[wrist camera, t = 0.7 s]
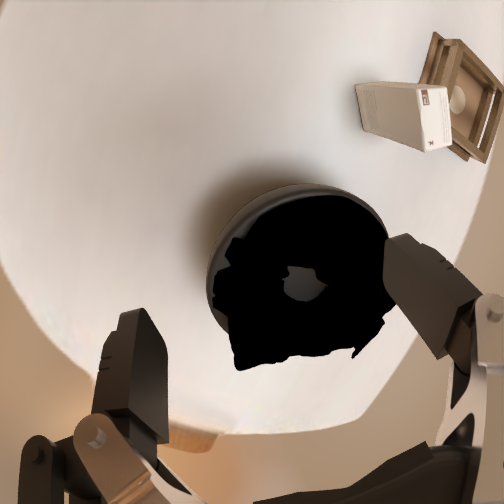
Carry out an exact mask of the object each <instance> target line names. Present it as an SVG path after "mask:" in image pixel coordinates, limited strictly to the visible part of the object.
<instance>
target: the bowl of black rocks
mask: <svg viewBox="0 0 504 504" xmlns="http://www.w3.org/2000/svg"><path fill="white" fill-rule="evenodd" d="M387 239H389V237H388V233H387V230H386V228H385V226H384V224H383V222H382V220H381V218H380V217H379V215H378V214H377V213H376V212H375V210H374V209H373V208H372V207H371V206H369V205H368V204H367V203H366V202H365V201H363V200H361V199H360V198H358V197H357V196H355V195H353V194H351V193H349V192H346V191H344V190H341V189H338V188H335V187H331V186H326V185H320V184H296V185H289V186H284V187H280V188H277V189H274V190H271V191H269V192H267V193H264V194H262V195H260V196H259V197H257V198H255V199H253V200H252V201H251V202H249V203H248V204H246V205H245V206H244V207H243V208H241V209H240V210H239V211H238V212H237V213H236V214H235V215H234V216H233V217H232V219H231V220H230V221H229V222H228V223H227V225H226V226H225V228H224V229H223V231H222V232H221V234H220V235H219V237H218V239H217V241H216V243H215V246H214V248H213V251H212V253H211V256H210V260H209V264H208V270H207V277H206V293H207V299H208V304H209V307H210V309H211V312H212V314H213V316H214V318H215V319H216V321H217V322H218V324H219V325H220V326H221V327H222V328H223V330H224V331H226V332H227V333H228V334H229V340H230V343H231V349H232V351H233V353H234V365H235V368H236V369H237V370H238V371H243V370H247V369H250V368H252V367H255V366H258V365H261V364H275V363H276V362H280V363H281V362H284V361H285V360H287V359H288V358H289V357H290V356H297V355H300V356H309V357H316V356H325V355H329V354H330V353H331V352H332V351H334V350H338V349H348V348H352V347H354V348H355V351H354V352H353V353H352V357H351V358H352V359H353V358H355V356H356V355H358V354H359V352H360V351H361V350H362V349H363V348H364V347H365V346H366V345H367V344H368V343H369V342H370V341H371V340H372V339H373V338H374V337H375V336H376V335H377V334H378V333H379V331H380V329H381V328H382V326H383V325H384V324H385V322H384V320H383V318H382V317H383V316H384V315H385V313H387V312H389V311H390V310H391V309H392V308H393V307H394V306H395V305H396V303H395V301H394V300H393V299H392V297H391V296H390V295H389V293H388V292H387V290H386V288H385V286H384V282H383V265H384V248H385V242H386V240H387Z"/></svg>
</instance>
